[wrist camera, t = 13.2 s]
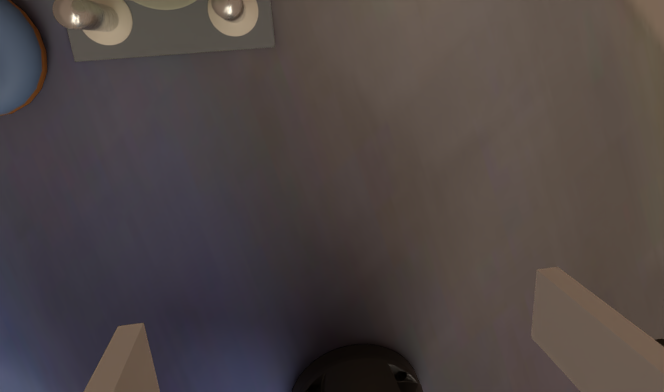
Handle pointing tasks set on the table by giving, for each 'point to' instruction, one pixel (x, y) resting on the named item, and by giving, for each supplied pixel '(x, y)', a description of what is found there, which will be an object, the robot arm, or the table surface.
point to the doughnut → (19, 58)
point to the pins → (89, 15)
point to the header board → (173, 31)
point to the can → (164, 4)
